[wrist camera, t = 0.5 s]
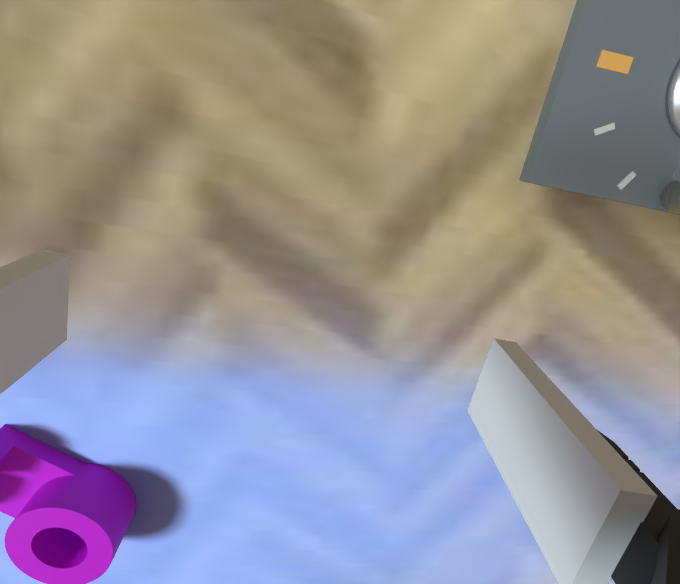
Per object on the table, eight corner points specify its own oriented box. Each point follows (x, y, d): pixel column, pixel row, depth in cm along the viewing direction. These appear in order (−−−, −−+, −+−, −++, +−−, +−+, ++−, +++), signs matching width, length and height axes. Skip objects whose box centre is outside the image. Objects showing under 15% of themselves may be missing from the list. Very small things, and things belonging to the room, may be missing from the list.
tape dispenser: (153, 488, 50) (131, 537, 44) (111, 546, 52) (84, 599, 46) (9, 417, 46) (-36, 459, 40) (-29, 483, 49) (-77, 532, 43)
